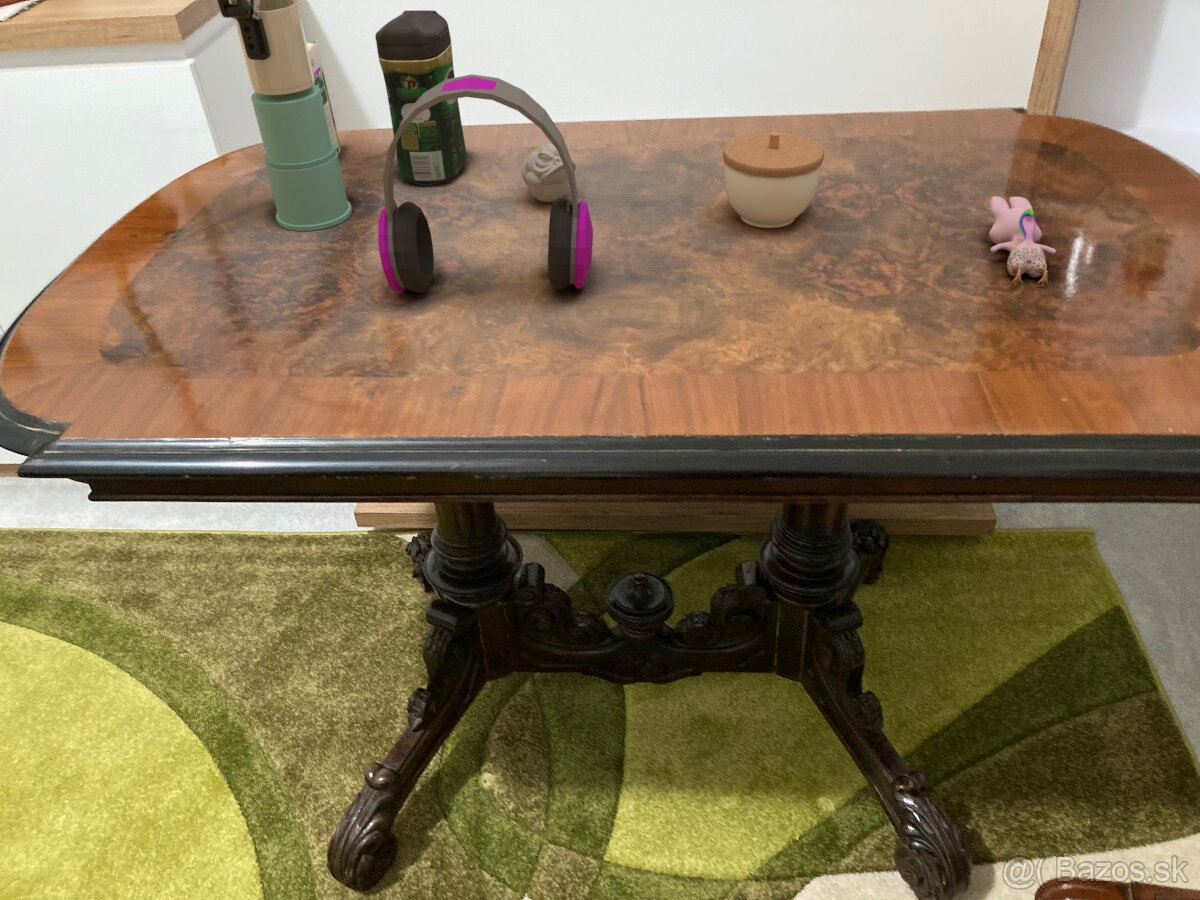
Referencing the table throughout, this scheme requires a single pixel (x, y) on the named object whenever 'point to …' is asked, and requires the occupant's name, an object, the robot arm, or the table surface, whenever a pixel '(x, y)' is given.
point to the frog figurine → (545, 174)
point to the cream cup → (280, 51)
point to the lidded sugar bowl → (771, 176)
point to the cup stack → (301, 160)
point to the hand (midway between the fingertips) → (274, 48)
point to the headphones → (407, 226)
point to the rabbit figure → (1018, 237)
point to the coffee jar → (410, 68)
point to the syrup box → (323, 92)
